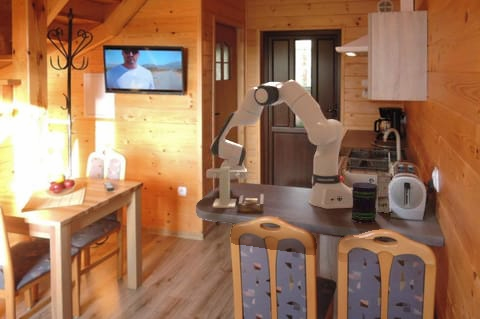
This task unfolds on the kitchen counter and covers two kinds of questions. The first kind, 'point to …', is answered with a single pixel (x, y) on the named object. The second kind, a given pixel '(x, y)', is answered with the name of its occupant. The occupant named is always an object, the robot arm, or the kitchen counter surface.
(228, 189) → the tall board
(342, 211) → the kitchen counter surface
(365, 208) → the storage jar
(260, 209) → the offcut rack
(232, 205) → the pad
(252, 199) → the offcut stack
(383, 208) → the coffee box
